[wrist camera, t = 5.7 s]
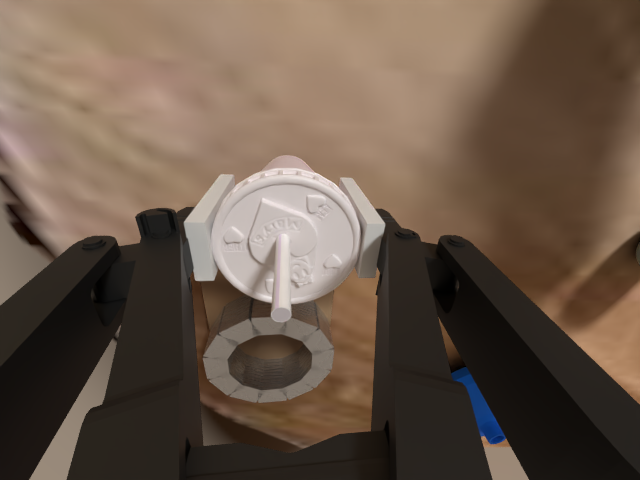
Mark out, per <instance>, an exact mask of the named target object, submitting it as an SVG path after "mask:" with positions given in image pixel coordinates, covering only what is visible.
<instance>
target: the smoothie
mask: <svg viewBox="0 0 640 480" xmlns="http://www.w3.org/2000/svg"><path fill="white" fill-rule="evenodd" d="M211 246H212V252H213V256H214V259H215V262H216V264H217V266H218V268H219V270H220V271H221V273H222V274H223V275H224V277H225V278H226V279H227V280H228V281H229V282H230V283H231V284H232V285H233V286H234V287H235V288H237V289H238V290H240V291H241V292H243V293H244V294H246V295H248V296H250V297H252V298H255V299H257V300H261V301H264V302H268V303H272V307H271V317H272V319H273V320H274V321H277V322H285V321H287V320H289V319H290V318H291V304H298V303H304V302H308V301H311V300H315V299H317V298H320V297H322V296H324V295H326V294H328V293H329V292H331V291H333V290H334V289H335V288H337V287H338V286H339V285H340V284H341V283H342V282H343V281H344V280H345V279H346V278H347V277H348V276H349V274H350V273H351V271H352V270H353V268H354V266H355V264H356V262H357V260H358V257H359V254H360V249H361V230H360V225H359V222H358V219H357V216H356V212H355V210H354V208H353V206H352V204H351V203H350V201H349V199H348V197H347V196H346V195H345V194H344V193H343V192H342V191H341V190H340V189H339V188H338V187H337V186H336V184H335V183H333V182H331V181H330V180H328V179H326V178H324V177H323V176H321V175H319V174H317V173H315V172H314V171H313V170H312V169H311V168H310V167H309V166H308V165H307V164H306V163H305V162H304V161H303V160H301V159H300V158H298V157H295V156H291V155H283V156H279V157H276V158H274V159H273V160H271V161H270V162H269V163H268V164H267V165H266V166H265V167H264V168H263V169H262V170H261V171H260V172H259V173H255V174H253V175H252V176H250V177H248V178H247V179H245V180H243V181H242V182H240V183H238V184H237V185H236V186H235V187H234V188H233V189H232V190H231V191H230V193H229V194H228V195H227V196H226V197H225V198H224V199H223V202H222V204H221V206H220V208H219V210H218V212H217V214H216V218H215V220H214V223H213V227H212V233H211Z"/></svg>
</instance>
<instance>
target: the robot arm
mask: <svg viewBox="0 0 640 480" xmlns="http://www.w3.org/2000/svg"><path fill="white" fill-rule="evenodd" d="M234 187H235V180H234V175H226V174H221V175H220V176H219V177H218V178H217V180H216V181H215V182H214V184H213V185H212V186H211V188H210V189H209V190H208V191H207V193H206V194H205V195H204V197H203V198H202V199H201V200H200V202H199V203H198V204H197V206H196V207H186V208H184V209H182V210H180V211H178V212H177V213H176V212H175V210H172V209H168V208H156V209H150V210H146V211H143V212H141V213H139V214H137V216H136V217H135V218H136V221H137V225H138V228H139V231H140V235H141V240H140V243H137V244H132V245H125V246H118V243H117V240H116V239H115V237H112V236H91V237H88V238H85V239H84V240H81V241H78V242H77V243H75V244H73V245H72V246H71V247H69V248H68V249H67V250H66V251H65V252H64V253H62V254H61V255H60V256H59V257H58V258H56V259H55V260H54V261H53V262H52V263H50V264H49V265H48V266H47V267H46V268H45V269H43V270H42V271H41V272H40V273H39V274H37V275H36V276H35V277H34V278H33V279H32V280H30V281H29V282H28V283H27V284H25V285H24V286H23V287H22V288H21V289H20V290H18V291H17V292H16V293H15V294H14V295H12V296H11V297H10V298H9V299H8V300H6V301H5V302H4V303H3V304H2V305H0V480H29V479H30V477H31V475H32V474H33V472H34V470H35V469H36V467H37V465H38V463H39V462H40V460H41V458H42V456H43V455H44V453H45V451H46V450H47V448H48V447H49V445H50V443H51V441H52V439H53V438H54V436H55V435H56V433H57V431H58V429H59V428H60V426H61V425H62V423H63V421H64V419H65V418H66V416H67V414H68V413H69V411H70V409H71V407H72V406H73V404H74V402H75V401H76V399H77V397H78V396H79V394H80V392H81V391H82V389H83V387H84V386H85V384H86V382H87V380H88V379H89V377H90V375H91V374H92V372H93V370H94V369H95V367H96V365H97V364H98V362H99V360H100V358H101V357H102V355H103V353H104V352H105V350H106V348H107V347H108V345H109V343H110V341H111V340H112V338H113V336H114V335H115V333H116V331H117V330H118V328H119V326H120V325H121V328H120V332H119V337H118V341H117V346H116V350H115V354H114V359H113V363H112V368H111V372H110V376H109V381H108V385H107V389H106V394H105V398H104V401H103V404H102V405H100V406H97V407H93V408H91V409H90V410H89V412H88V413H87V414H86V416H85V419H84V421H83V423H82V426H81V430H80V433H79V437H78V441H77V444H76V448H75V451H74V455H73V458H72V462H71V466H70V469H69V473H68V476H67V480H492V476H491V473H490V469H489V465H488V462H487V458H486V455H485V451H484V447H483V443H482V440H481V436H480V432H479V429H478V425H477V421H476V418H475V414H474V410H473V407H472V403H471V399H470V396H469V393H468V391H467V388H466V386H465V385H464V384H463V383H462V382H458V381H454V380H453V378H452V375H451V371H450V367H449V362H448V358H447V354H446V349H445V345H444V341H443V336H442V332H441V327H440V323H439V319H438V317H439V318H440V320H441V322H442V324H443V326H444V327H445V329H446V331H447V333H448V334H449V336H450V338H451V340H452V342H453V343H454V345H455V347H456V349H457V351H458V352H459V354H460V356H461V358H462V360H463V361H464V363H465V365H466V367H467V369H468V370H469V372H470V374H471V376H472V378H473V379H474V381H475V383H476V385H477V387H478V388H479V390H480V392H481V394H482V396H483V397H484V399H485V401H486V403H487V405H488V406H489V408H490V410H491V412H492V414H493V415H494V417H495V419H496V421H497V423H498V424H499V426H500V428H501V430H502V432H503V433H504V435H505V437H506V439H507V441H508V442H509V444H510V446H511V448H512V450H513V451H514V453H515V455H516V457H517V459H518V460H519V462H520V464H521V466H522V467H523V469H524V471H525V473H526V475H527V476H528V478H529V480H640V405H639V404H638V403H637V402H636V401H635V400H634V399H633V398H632V397H631V396H630V395H629V394H628V393H627V392H626V391H625V390H624V389H623V388H622V387H621V386H620V385H619V384H618V383H617V382H616V381H615V380H613V379H612V378H611V377H610V376H609V375H608V374H607V373H606V372H605V371H604V370H603V369H602V368H601V367H600V366H599V365H598V364H597V363H596V362H595V361H594V360H593V359H592V358H591V357H590V356H589V355H587V354H586V353H585V352H584V351H583V350H582V349H581V348H580V347H579V346H578V345H577V344H576V343H575V342H574V341H573V340H572V339H571V338H570V337H569V336H568V335H567V334H566V333H565V332H564V331H563V330H561V329H560V328H559V327H558V326H557V325H556V324H555V323H554V322H553V321H552V320H551V319H550V318H549V317H548V316H547V315H546V314H545V313H544V312H543V311H542V310H541V309H540V308H539V307H538V306H537V305H535V304H534V303H533V302H532V301H531V300H530V299H529V298H528V297H527V296H526V295H525V294H524V293H523V292H522V291H521V290H520V289H519V288H518V287H517V286H516V285H515V284H514V283H513V282H512V281H511V280H509V279H508V278H507V277H506V276H505V275H504V274H503V273H502V272H501V271H500V270H499V269H498V268H497V267H496V266H495V265H494V264H493V263H492V262H491V261H490V260H489V259H488V258H487V257H486V256H485V255H483V254H482V253H481V252H480V251H479V250H478V249H477V248H476V247H475V246H474V245H473V244H472V243H471V242H469V241H468V240H466V239H464V238H462V237H460V236H459V237H458V236H456V235H453V236H452V235H444V236H441V237H440V239H439V242H438V245H437V244H431V243H425V242H421V240H420V237H419V235H418V234H417V233H416V232H414V231H411V230H409V229H404V228H401V227H400V226H399V224H398V223H397V222H396V221H395V219H394V218H392V216H391V215H390V213H389V212H387V211H385V210H383V209H374V207H373V206H372V205H371V203H370V202H369V201H368V199H367V198H366V196H365V195H364V194H363V192H362V191H361V190H360V188H359V187H358V185H357V184H356V183H355V181H354V180H353V179H352V178H340V183H339V189H340V190H341V191H342V192H343V193H344V194H345V195H346V196H347V197H348V199H349V201H350V203H351V204H352V206H353V208H354V210H355V212H356V216H357V219H358V222H359V225H360V230H361V249H360V254H359V257H358V260H357V262H356V264H355V269H356V272H357V274H358V277H359V278H375V275H376V270H377V267H378V269H379V271H380V276H379V281H378V286H377V291H376V295H378V299H377V319H376V340H375V360H374V381H373V401H372V422H371V431H370V432H358V433H347V434H339V435H337V436H334V437H332V438H329V439H327V440H324V441H322V442H319V443H317V444H314V445H312V446H310V447H307V448H305V449H302V450H300V451H297V452H294V453H286V452H281V451H277V450H272V449H268V448H263V447H258V446H254V445H249V444H244V443H233V444H222V445H211V446H203V435H202V421H201V408H200V394H199V380H198V366H197V353H196V339H195V325H194V312H193V298H192V285H191V280H190V275H191V273H192V271H193V272H194V276H195V281H214V279H215V277H216V274H217V271H218V269H219V268H218V266H217V264H216V262H215V259H214V256H213V252H212V246H211V233H212V227H213V223H214V220H215V218H216V214H217V212H218V210H219V208H220V206H221V204H222V202H223V199H224V198H225V197H226V196H227V195H228V194H229V193H230V191H231V190H232V189H233V188H234ZM458 287H459V288H458ZM121 323H122V324H121Z"/></svg>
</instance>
